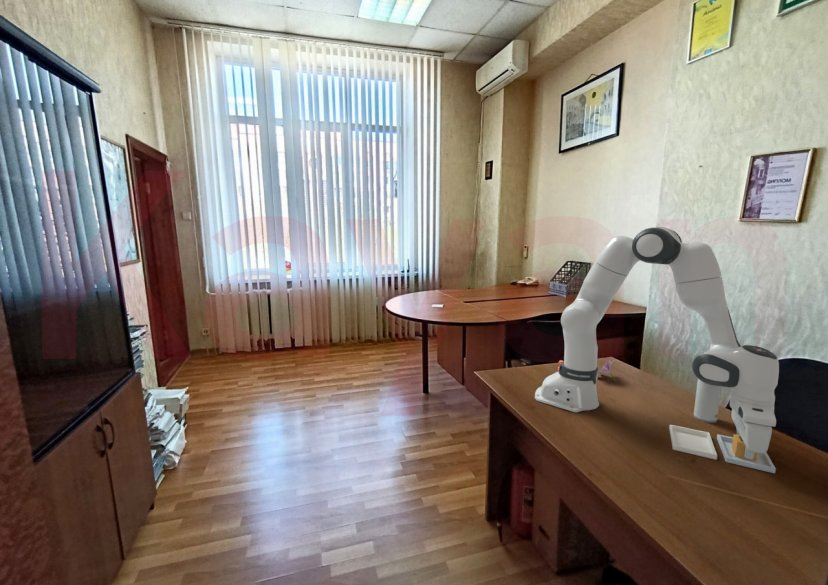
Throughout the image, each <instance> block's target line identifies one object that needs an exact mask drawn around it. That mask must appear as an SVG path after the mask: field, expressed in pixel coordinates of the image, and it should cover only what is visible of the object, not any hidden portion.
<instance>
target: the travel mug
mask: <svg viewBox="0 0 828 585" xmlns="http://www.w3.org/2000/svg"><path fill="white" fill-rule="evenodd" d="M722 388H723V387H721V386H715V385H709V384H706V383H704V382H702V381H701V380H699V379H698V378H697V382H696V393H695V401H694V409H693V417H694V419H696V420H698V421H701V422H703V423H706V424H707V423H708V424H716V423H717V422H718V417H719V410H720V402H721V394H722Z"/></svg>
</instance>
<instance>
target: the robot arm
mask: <svg viewBox="0 0 828 585" xmlns="http://www.w3.org/2000/svg"><path fill="white" fill-rule="evenodd" d="M640 261H641V262H643V263H646V264H654V265H655V264H656V265H657V264H658V265H668V266H669V268H670V269H671V271H672V274H673V278H674V280H673V281H674V283H675V288H676V289H675V290H676V293H677V296H678V298H679V300H680V302H681V304H682V305H683V306H685V307H686V308H688V309H691V310H693V311H695V312H697V313H698V314H699V315H700V316H701V317H702V318H703V321H704V324H705V326H706V330H707V334H708V337H709V341H710V347H709V349H708V350H706V351H705V352H703V353H701V354H698V355H697V356H695V358H694V359H693V361H692V363H691V368H692V372H693V375H694V376H695V377H696V378H697V380H698V379H699V380H701V381H702V382H704V383H706V384H709V385H715V386H721V387H722V388H723V387H724V388H731V393H730V398H729V399H730V400H729V407H730V408H731V413H730V414H731V420H732V421H733V423H734V426H735V427H736V434H737V435H740V436H741V438H742V440H743V442H744V444H745V446H746V448H745V449H744V456H745V458H748V459H753V458H754V454H755V452H756V453H761V454H764V453H767V452H768V449H769V445H770V442H771V437H772V432H773V428H772V427H774V428H775V427H776V425H777V418H776V415H775V401H776V395H775V389H776V388H777V386H778V383H779V382H778V381H779V374H780V362H779V358H778V356H777V355H776V354H775V353H774V352H772V351H771V350H769V349H766V348H764V347H760V346H757V345H751V344H745V345H744V344H743V345H741V344H740V342H739V340H738V336H737V334H736V330H735V327H734V324H733V320H732V318H731V314H730V310H729V307H728V303H727V299H726V293H725V288H724V282H723V277H722V273H721V269H720V266H719V265H720V264H719V262H718V260H717V257H716V254H715V253H714V251H713V249H712V247H711V246H710V245H708V244H706V243H704V242H689V243H688V242H687V243H684V242H683V240H682V238H681V236H680V234H678V233H677V232H676V231H674V230H673V229H670V228H667V227H662V226H656V227H649V228H645V229H643V230H641V231H640V232H639V233H637V234H636V235H635V237H634V238H631V237H629V236H625V235H618V236H617V235H616V236H613V237H612V238H611V239H610V240H609V241H608V242H607V243H606V244H605V246H604V247H603V248H602V249H601V251H600V252H599V254H598V256H597V257H596V259H595V261H594V262H593V263H592V266H591V267H590V269H589V271H588V273H587V274H586V276H585V278H584V279H583V283H582V285H581V287H580V289H579V292H578V294H577V296H576V297H575V300H574V301H573V302H572V303H571V304H570V305H568V306H566V307H565V308H564V310H563V311H562V314H561V317H560V324H561V327H562V333H563V334H562V335H563V340H564V356H563V360H562V359H561V360H559V361H558V362H557V364H558V365H557V371H556V372H554V373H552V374H550V375H548V376H547V377H545V378H544V380H543V381H542V385H541V386H539V387H538V388H537V389H536V390H535V392H534V399H535V400H536V401H537V402H539V403H543V404H547V405H550V406H554V407H556V408H560V409H563V410H567V411H570V412H573V413H580V412H583V411H591V410H592V411H593V410H595V409H597V408H598V407H599V406H600V403H599V398H598V393H597V383H598V375H599V373H598V372H599V371H598V370H599V369H598V366H597V364H598V362H597V361H598V349H599V347H598V346H599V345H598V344H597V343H598V342H597V326H598V324H599V323H600V322H601V320H602V319H603V318H604V316H605V314H606V313H607V310H608V309H609V307H610V306H611V303H612V302H613V301H614V298H615V296H616V295H617V293H618V291H619V290H620V288H621V286H622V285H623V284H624V282H625V281H626V278H627V277H628V275H629V274H630V273H631V271H632V269H633V267H634V266H635V265H636V264H637V263H638V262H640Z"/></svg>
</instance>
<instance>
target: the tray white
mask: <svg viewBox="0 0 828 585" xmlns="http://www.w3.org/2000/svg"><path fill="white" fill-rule="evenodd" d="M668 430H669V434H670V440H671V446H672V450H673V451H678V452H682V453H687V454H691V455H694V456H695V455H696V456H699V457H703V458H707V459H712V460H715V461H717V460H718V453H717V451H716V448H715V446H714V442H713V440H712V437H711V434H710V432H709V431H702V430H698V429H695V428H689V427H684V426H679V425H674V424H669V429H668Z"/></svg>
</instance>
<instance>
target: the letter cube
mask: <svg viewBox="0 0 828 585" xmlns="http://www.w3.org/2000/svg"><path fill="white" fill-rule="evenodd" d="M732 437H733V442H732V450H733V452H734V455H735V456H736V457H740V458H745V456H744V449H745V448H746V446H745V444H744V442H743V440H742V438H741V436H740V435H737V433H736V434H735V433H733V436H732ZM757 455H758V453H756V452H755V454H754V458H753V459H749V460H754V461H757ZM745 459H748V458H745Z"/></svg>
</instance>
